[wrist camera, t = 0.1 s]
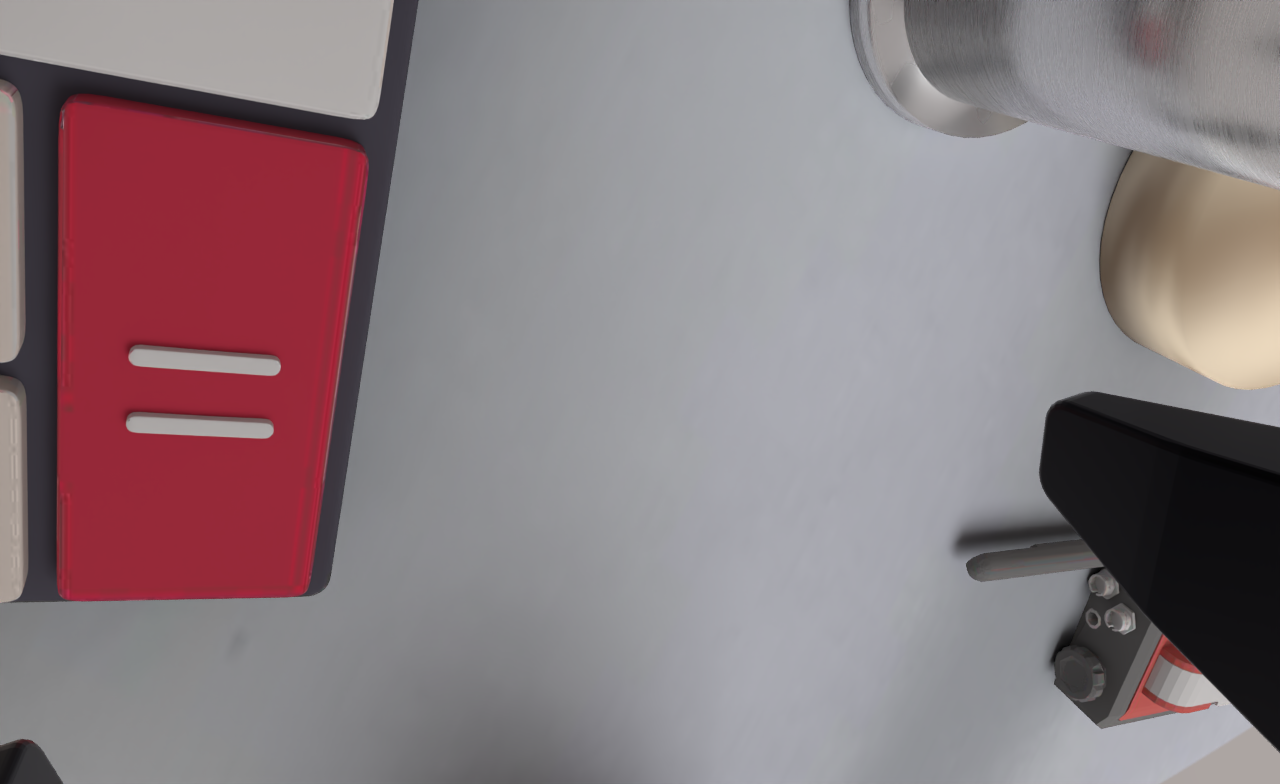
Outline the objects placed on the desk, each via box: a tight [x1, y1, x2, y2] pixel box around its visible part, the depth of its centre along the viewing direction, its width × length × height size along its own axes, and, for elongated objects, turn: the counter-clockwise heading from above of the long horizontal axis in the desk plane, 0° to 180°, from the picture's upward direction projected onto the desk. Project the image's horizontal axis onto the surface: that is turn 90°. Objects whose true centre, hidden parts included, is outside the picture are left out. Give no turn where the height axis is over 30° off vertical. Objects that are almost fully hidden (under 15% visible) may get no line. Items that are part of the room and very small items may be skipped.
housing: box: [850, 0, 1280, 190], centre depth 18 cm, size 7×7×13 cm
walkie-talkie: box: [966, 539, 1231, 729], centre depth 36 cm, size 9×4×20 cm
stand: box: [1100, 150, 1280, 390], centre depth 28 cm, size 10×10×3 cm
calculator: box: [0, 0, 418, 603], centre depth 17 cm, size 11×4×15 cm
